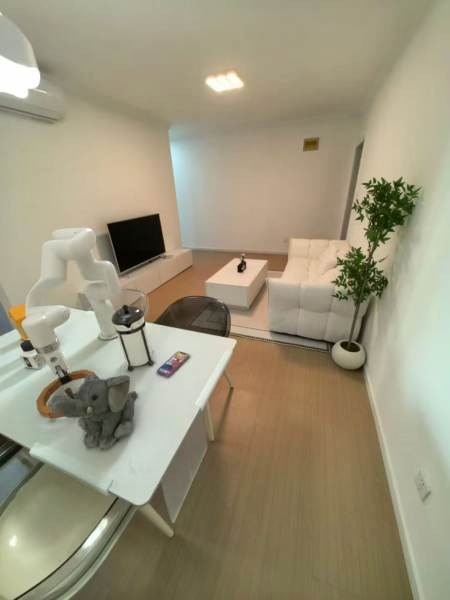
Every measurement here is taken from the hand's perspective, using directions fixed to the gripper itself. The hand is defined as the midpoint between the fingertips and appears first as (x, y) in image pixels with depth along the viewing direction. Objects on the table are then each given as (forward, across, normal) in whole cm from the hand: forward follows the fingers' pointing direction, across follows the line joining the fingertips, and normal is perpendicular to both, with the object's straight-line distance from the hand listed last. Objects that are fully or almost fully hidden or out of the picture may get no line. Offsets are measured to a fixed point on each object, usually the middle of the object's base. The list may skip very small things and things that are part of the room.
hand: (66, 380), depth 94 cm
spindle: (+3, -9, 0) cm, 10 cm away
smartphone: (+4, -20, -39) cm, 44 cm away
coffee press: (+4, -5, -29) cm, 29 cm away
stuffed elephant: (+3, -31, -8) cm, 32 cm away
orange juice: (+4, +61, +7) cm, 61 cm away
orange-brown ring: (+1, -9, 0) cm, 9 cm away
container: (+4, +29, +7) cm, 30 cm away
